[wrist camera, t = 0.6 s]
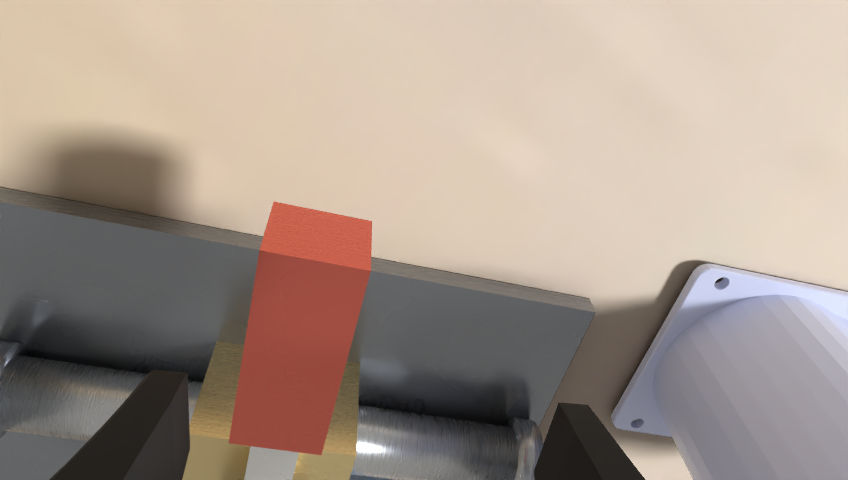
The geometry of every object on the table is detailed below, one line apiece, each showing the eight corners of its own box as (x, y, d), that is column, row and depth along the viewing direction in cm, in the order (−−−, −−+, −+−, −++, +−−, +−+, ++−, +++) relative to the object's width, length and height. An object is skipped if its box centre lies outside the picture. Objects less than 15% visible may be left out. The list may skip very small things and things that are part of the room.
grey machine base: (589, 298, 23) (635, 398, 19) (480, 522, 30) (497, 633, 25) (-18, 183, 20) (-126, 275, 15) (7, 467, 26) (-65, 586, 22)
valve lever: (297, 539, 21) (289, 613, 19) (210, 529, 21) (191, 605, 19) (384, 215, 15) (385, 273, 13) (262, 190, 15) (243, 247, 12)
